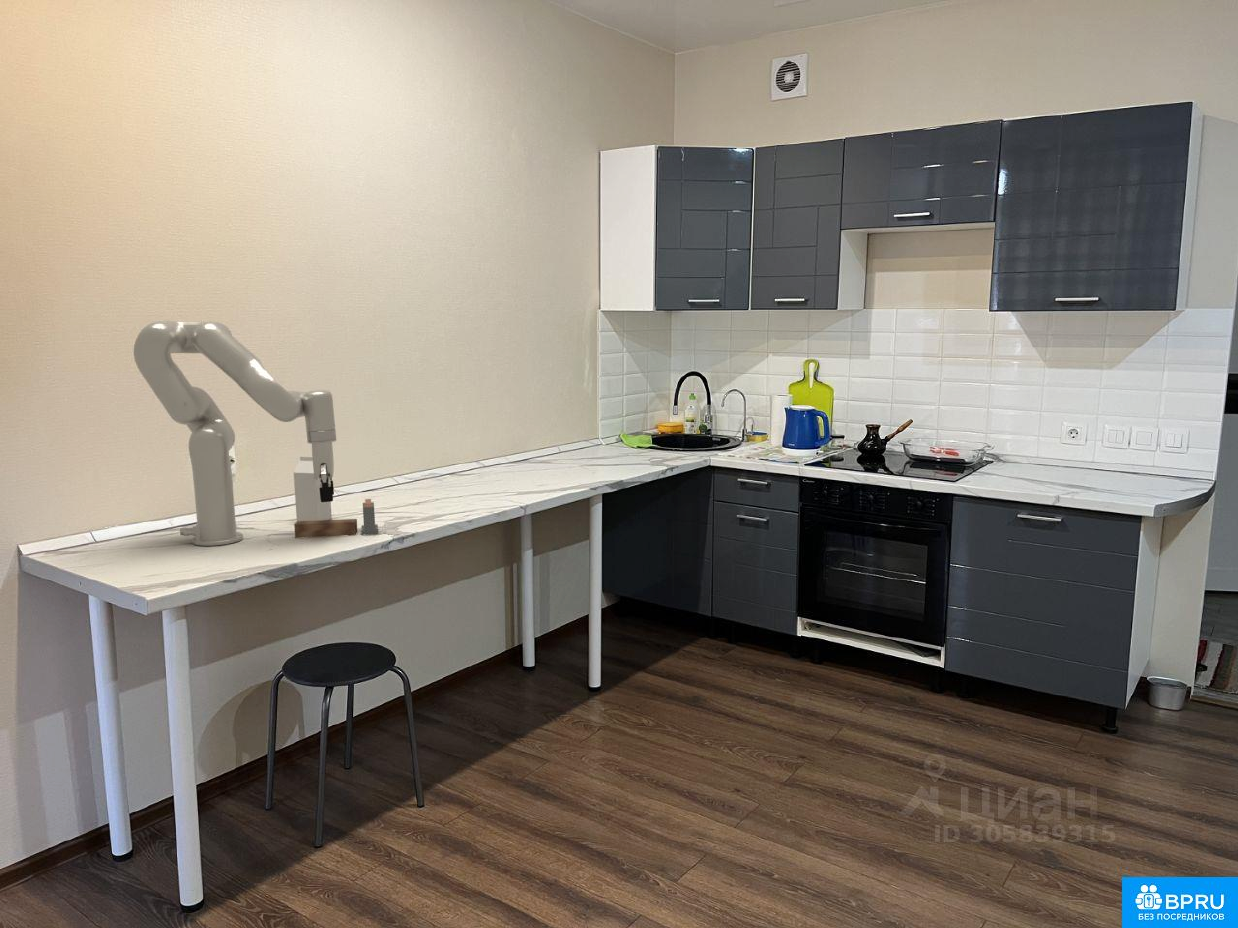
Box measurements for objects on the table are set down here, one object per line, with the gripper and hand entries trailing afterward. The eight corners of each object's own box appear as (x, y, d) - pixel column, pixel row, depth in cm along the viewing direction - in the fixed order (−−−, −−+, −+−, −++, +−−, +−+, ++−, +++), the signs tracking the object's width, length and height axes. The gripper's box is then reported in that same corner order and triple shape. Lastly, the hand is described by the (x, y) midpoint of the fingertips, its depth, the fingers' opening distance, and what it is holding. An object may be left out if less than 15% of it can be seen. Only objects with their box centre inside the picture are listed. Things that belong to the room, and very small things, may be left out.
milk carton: (317, 524, 273) (313, 459, 270) (296, 523, 275) (292, 458, 272) (332, 519, 280) (328, 455, 277) (311, 517, 282) (307, 455, 279)
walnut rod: (295, 538, 257) (294, 524, 256) (297, 535, 261) (296, 521, 260) (355, 536, 259) (354, 521, 259) (357, 532, 263) (356, 518, 263)
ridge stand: (361, 534, 259) (359, 504, 258) (361, 529, 266) (359, 499, 265) (378, 533, 260) (376, 503, 259) (377, 528, 267) (376, 498, 266)
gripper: (308, 433, 263) (314, 494, 266) (305, 441, 247) (311, 505, 250) (336, 431, 265) (342, 491, 268) (335, 439, 249) (341, 502, 251)
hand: (327, 498), depth 259 cm, fingers open, 9 cm apart
